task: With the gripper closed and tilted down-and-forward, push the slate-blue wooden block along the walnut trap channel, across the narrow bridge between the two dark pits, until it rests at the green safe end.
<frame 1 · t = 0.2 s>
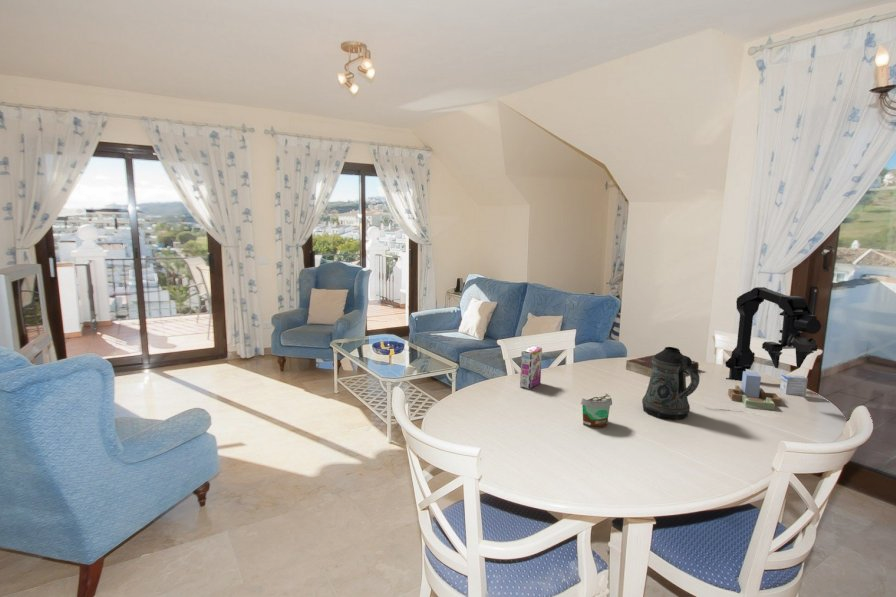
hand: (787, 367, 189), 15 cm above the table, tool pointing down, fingers open, 9 cm apart
candy bar box: (530, 385, 212), on the table
block: (749, 395, 196), point 1 cm above the table, touching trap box
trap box: (752, 403, 191), on the table
medicine box: (792, 396, 199), on the table
beer stein: (669, 413, 181), on the table
hardback book: (661, 371, 235), on the table
food container: (599, 426, 169), on the table
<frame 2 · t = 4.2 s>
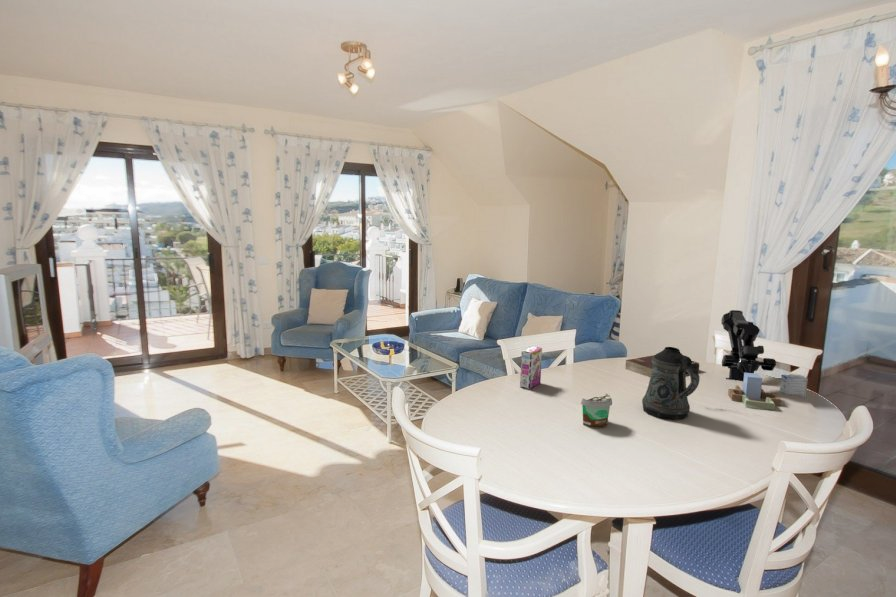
hand: (750, 380, 196), 7 cm above the table, tool tilted 45°, fingers closed, pressing on block
block: (750, 396, 194), point 2 cm above the table, touching gripper
everything else where it was.
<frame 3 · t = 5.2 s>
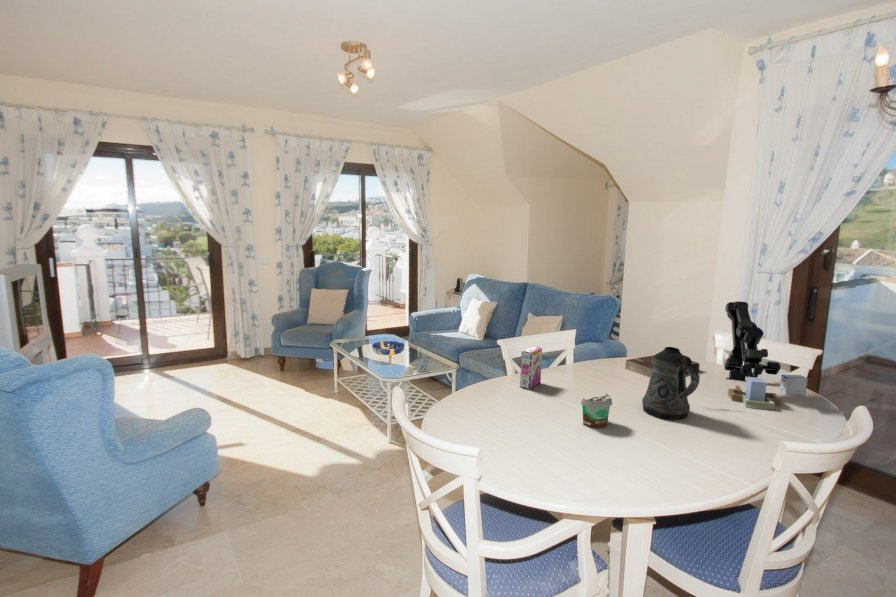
hand: (753, 384, 191), 7 cm above the table, tool tilted 45°, fingers closed
block: (754, 401, 189), point 1 cm above the table, touching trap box
everything else where it was.
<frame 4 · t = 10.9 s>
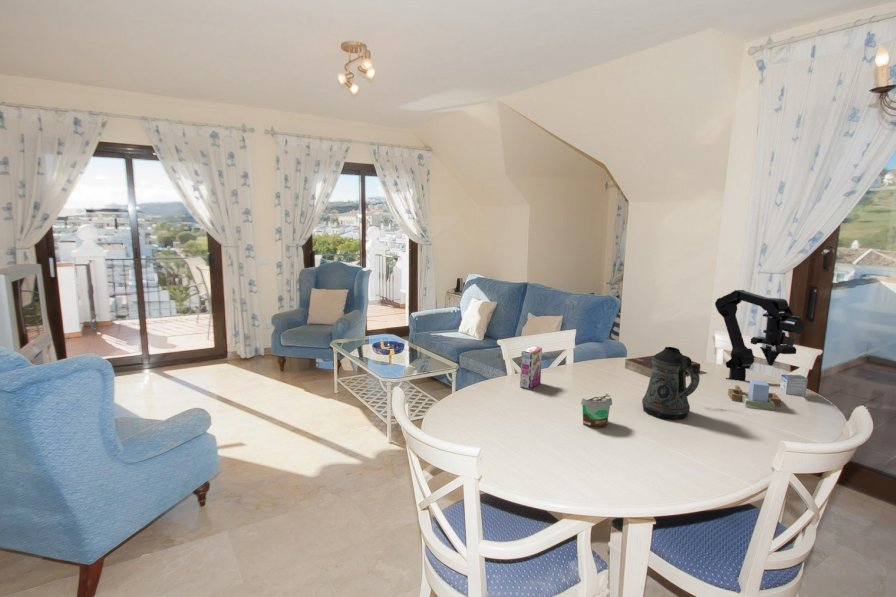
hand: (770, 365, 202), 12 cm above the table, tool pointing down, fingers closed
block: (757, 404, 185), point 1 cm above the table, touching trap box
at the end: block 1.0 cm from the target spot on the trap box, point 1.5 cm above the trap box's base; block tilted 0° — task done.
